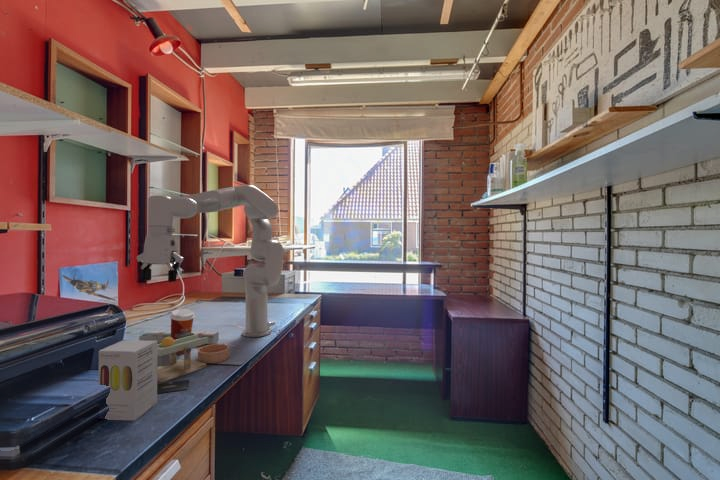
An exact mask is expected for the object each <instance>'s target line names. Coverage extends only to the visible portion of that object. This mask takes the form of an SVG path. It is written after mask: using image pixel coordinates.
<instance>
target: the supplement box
mask: <svg viewBox="0 0 720 480" xmlns="http://www.w3.org/2000/svg"><path fill="white" fill-rule="evenodd" d="M157 353H158V341H142V340H139V339H138V340H137V339H136V340H135V339H134V340H131V339H130V340H129V339H123V340H120V341H118V342H115V343H114V344H111V345H108V346H106V347H104V348H102V349H100V350H99V351H98V371H97V372H98V377H97V378H98V380H97V383H98V384H97V386H98V385H106V386H110V388H111V389H110V393H109V395H108V397H107V398H106V404H107V405H108V406H109V411H108V412H107V414H106V416H105V419H107V420H106V421H129V422H130V421H136V420H138V419H139V418H140V417H141V416H143V415H144V414H145V413H146V412H148V411H149V410H151V408H153V407H154V406H155V405H156V404H157V403H158V394H157V384H158V381H157V367H158V365H157Z"/></svg>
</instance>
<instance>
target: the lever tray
mask: <svg viewBox="0 0 720 480" xmlns="http://www.w3.org/2000/svg"><path fill="white" fill-rule="evenodd" d="M175 337H177V338H180V339H176V340H174V345H173V346H170V347H166V348H164V347H163V346H162V343H160V344H158V353H157V366H166V365H169V364H170V353H174V352H178V351H181V350H184V348H185V347H191V349H192V348H195V347H198V346H203V345H202V344H206V343H208V337H204V338H198V334H196V335H194V333H191V332H187V331H186V332H182V333H178V334H175Z"/></svg>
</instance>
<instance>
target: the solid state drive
mask: <svg viewBox="0 0 720 480" xmlns="http://www.w3.org/2000/svg"><path fill="white" fill-rule="evenodd" d="M189 385H190V379H183V380H176V381H171V382H170V381H168V382H160V383H157V395H161V394H162V395H163V394H168V393H176V392H183V391H188V390H189Z"/></svg>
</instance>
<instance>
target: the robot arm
mask: <svg viewBox="0 0 720 480" xmlns="http://www.w3.org/2000/svg"><path fill="white" fill-rule="evenodd" d="M242 206H243V211H244V215H245V216H246V217H247V219H248V220H249V221H250V223H251V225H252V238H251V244H250V251H249V254H250V257H251V258H252V260H255V261H259V262H264V263H251V264H249V265H247V266H245V268H244V270H243V275H242V276H243V282H244V286H245V287H244V289H245V328H244V330H242V331H241V335H242V336H244V337H247V338H258V337H265V336H268V335H270V334H271V332H272V330H271V327H272V326H275V325H276V322H275V320H272V321H268V303H269V302H268V298H269V297H268V295H269V294H268V289H267V287H274V286H276V285H278V283H279V281H280V279H281V276H282V269H283V263H284V262H283V261H284V253H285V252H284V247H283V245H282V243H281V242H280V241H278V240H274V239H272V238H273V237H272V236H273V228H272V224H271V222H270V220H271V219H274V218H275V217H276V216H277V215H278V213H279V209H278V205H277V203H276V202H275V201H274V199H272V198H271V197H270V196H269V195H267V194H266V193H265V192H263V190H261V189H259V188H258V187H257V186H255V185H254V184H253V185H252V184H246V185H245V184H243V185H236V186H235V185H233V186H230V187H224V188H217V189H211V190H207V191H203V192H198V193H194V194H193V193H192V194H188V195H183V196H176V197H173V196H172V197H171V196H167V195H158V194H157V195H156V194H155V195H154V194H153V195H150V196H149V197H148V199H147V234H146V236H145V238H144V239H145V240H144V244H143V245H144V246H143V252H141V253H140V254H138V255H137V256H136V260H137V262H138V266H139V267H140V269H141V270H142V281H143V282H147V281H151V280H152V268H151V267H152V266H153V265H166V266H167V267H168V268H169V269H168V274H167V275H168V277H167V281H168V282H169V283H172V282H176V281H177V275H178V273H177V270H179V268H180V267H181V265H182V263H183V261H184V259H185V258H184V257H183V255H180V254H178V249H177V248H178V246H177V240H176V236H175V235H173V234H174V233H175V232H176V228H173V226H174V225H173V219H190V218H193V217H194V216H196V214H202V213H215V212H221V211H224V210H228V209H229V210H230V209H232V208H238V207H242Z"/></svg>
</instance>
